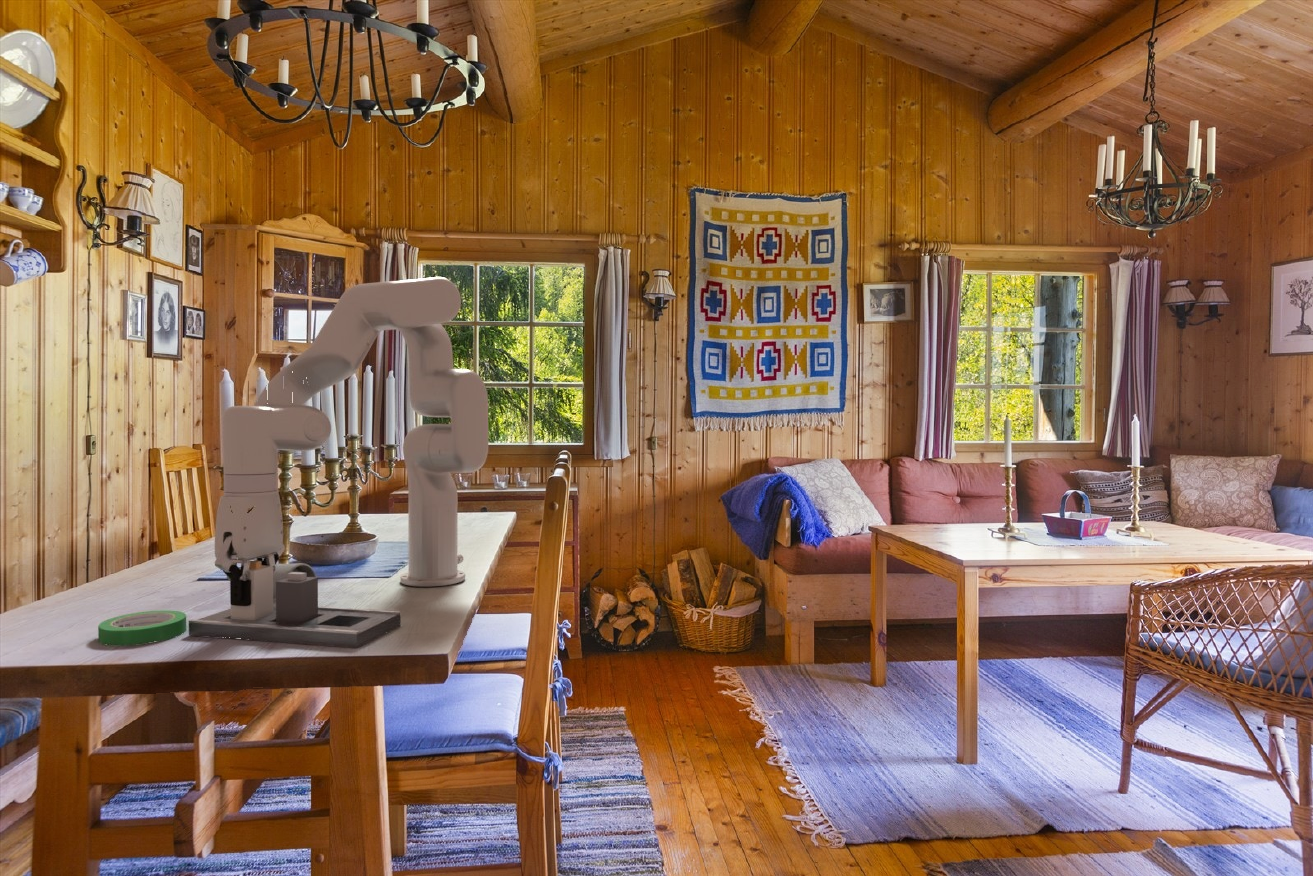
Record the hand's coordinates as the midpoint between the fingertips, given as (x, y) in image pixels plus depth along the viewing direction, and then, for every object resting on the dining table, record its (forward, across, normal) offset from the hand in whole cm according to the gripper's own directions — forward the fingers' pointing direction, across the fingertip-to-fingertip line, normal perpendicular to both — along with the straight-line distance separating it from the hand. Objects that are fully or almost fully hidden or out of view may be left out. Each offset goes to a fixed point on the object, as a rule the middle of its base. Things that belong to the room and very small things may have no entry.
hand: (252, 600), depth 121 cm
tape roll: (+5, +7, -13) cm, 16 cm away
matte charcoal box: (+4, 0, +8) cm, 9 cm away
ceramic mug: (+5, -12, -4) cm, 13 cm away
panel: (+4, 0, +8) cm, 9 cm away
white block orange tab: (+3, 0, 0) cm, 3 cm away
